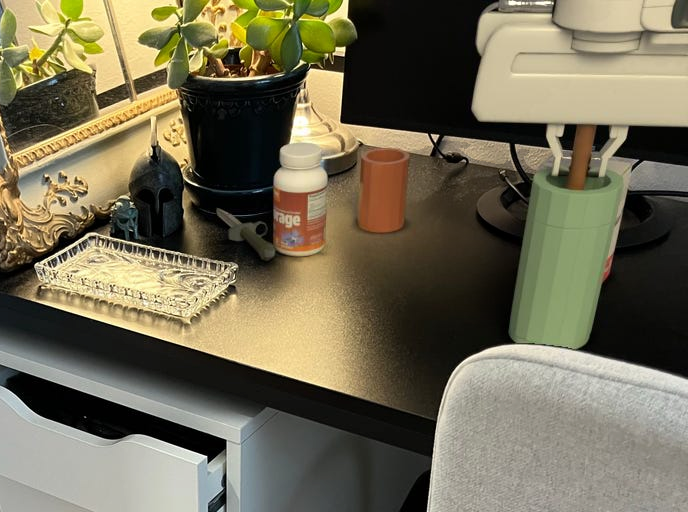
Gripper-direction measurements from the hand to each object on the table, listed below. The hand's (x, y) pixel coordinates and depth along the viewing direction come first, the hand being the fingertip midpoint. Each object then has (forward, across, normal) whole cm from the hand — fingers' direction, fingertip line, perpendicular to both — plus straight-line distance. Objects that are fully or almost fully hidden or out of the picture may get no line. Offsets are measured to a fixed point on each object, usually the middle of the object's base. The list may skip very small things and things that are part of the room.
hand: (577, 175), depth 91 cm
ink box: (+15, +2, +15) cm, 21 cm away
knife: (+14, -38, +20) cm, 45 cm away
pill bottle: (+15, -28, +18) cm, 37 cm away
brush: (+14, 0, 0) cm, 15 cm away
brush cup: (+15, -20, +27) cm, 37 cm away
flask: (+15, 0, 0) cm, 15 cm away
